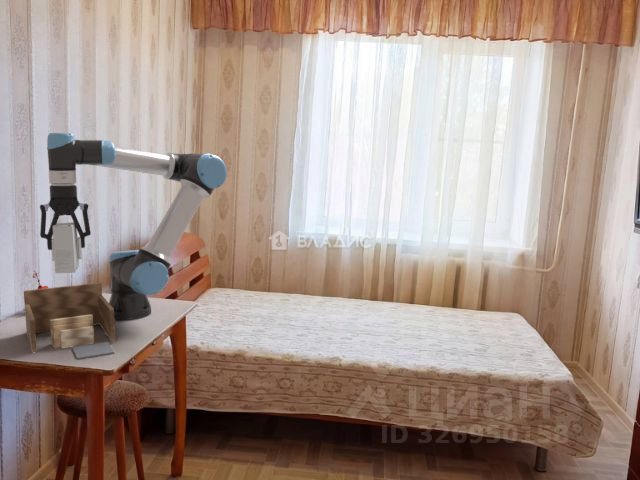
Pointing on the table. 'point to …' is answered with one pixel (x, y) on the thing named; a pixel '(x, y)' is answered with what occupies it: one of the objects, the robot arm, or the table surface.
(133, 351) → the table surface
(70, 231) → the skincare box
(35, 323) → the walnut rack
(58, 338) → the offcut bundle
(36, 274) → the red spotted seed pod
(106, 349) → the grey rubber mat
